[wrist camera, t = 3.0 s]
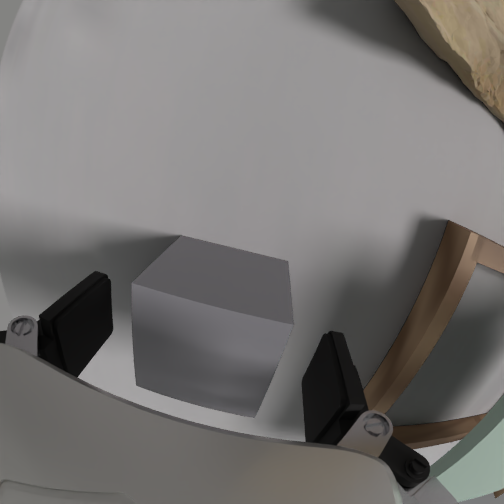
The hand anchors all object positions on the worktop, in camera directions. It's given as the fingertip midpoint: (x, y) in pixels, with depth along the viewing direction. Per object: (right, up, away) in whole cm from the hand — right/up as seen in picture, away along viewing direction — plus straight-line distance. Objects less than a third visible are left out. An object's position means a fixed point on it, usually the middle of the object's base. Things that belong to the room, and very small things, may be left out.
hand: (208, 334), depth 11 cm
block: (0, +1, +3) cm, 3 cm away
